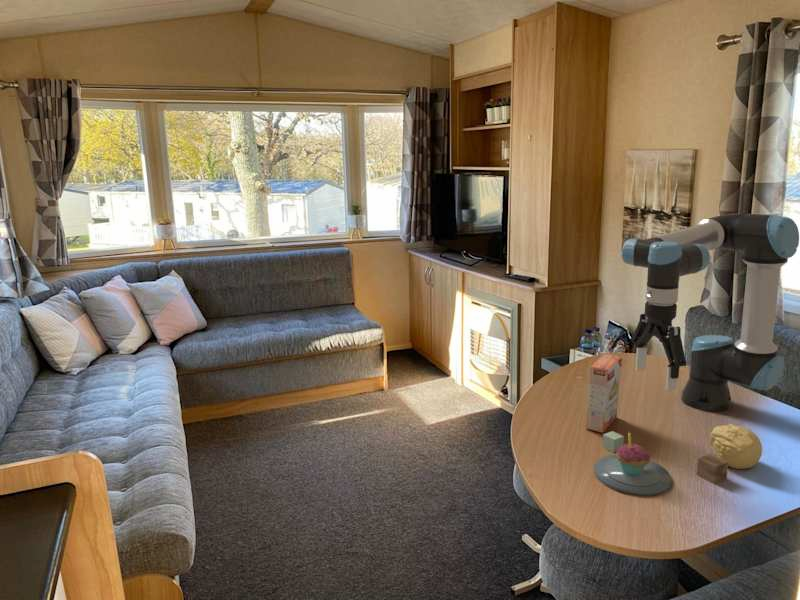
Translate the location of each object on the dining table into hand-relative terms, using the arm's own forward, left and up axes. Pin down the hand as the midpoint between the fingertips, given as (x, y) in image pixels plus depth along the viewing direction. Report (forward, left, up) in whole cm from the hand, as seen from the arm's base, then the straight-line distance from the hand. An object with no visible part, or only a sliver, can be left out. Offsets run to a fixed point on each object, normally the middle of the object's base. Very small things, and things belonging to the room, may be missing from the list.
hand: (655, 379), depth 159 cm
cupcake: (+8, +5, -24) cm, 25 cm away
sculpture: (-23, +5, -25) cm, 34 cm away
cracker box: (0, -25, -25) cm, 35 cm away
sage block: (+5, -10, -25) cm, 27 cm away
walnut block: (-12, +10, -25) cm, 29 cm away
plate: (+8, +5, -25) cm, 26 cm away
